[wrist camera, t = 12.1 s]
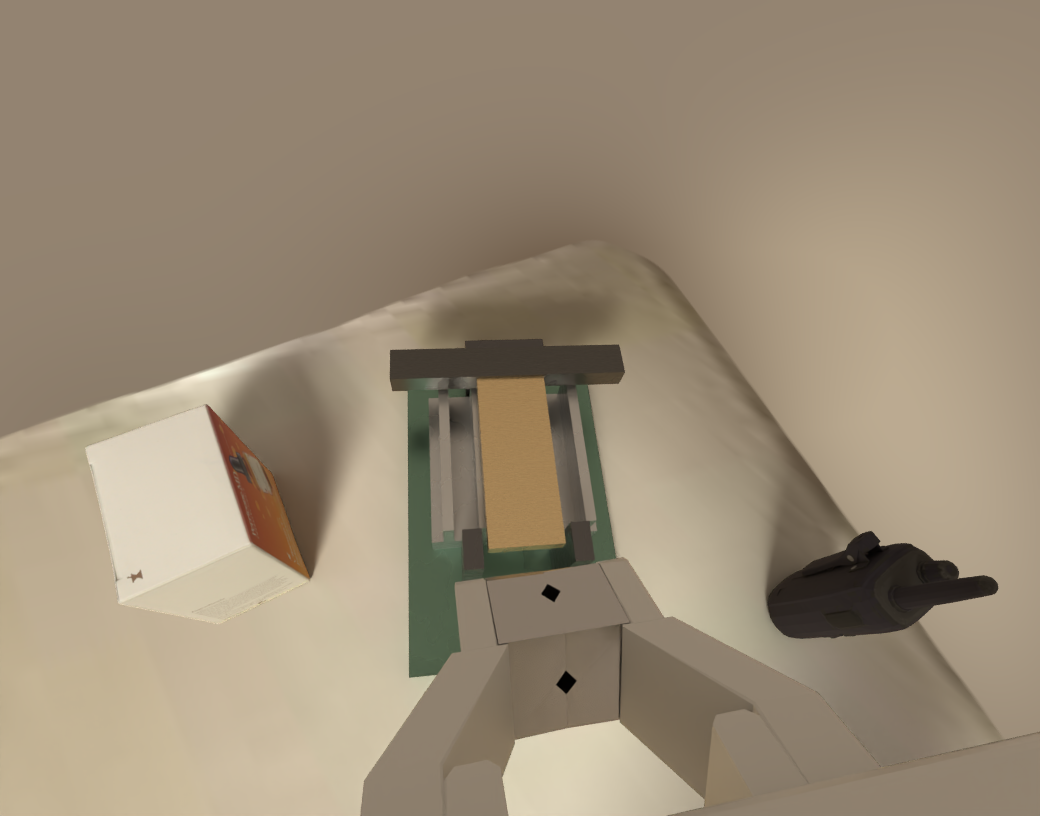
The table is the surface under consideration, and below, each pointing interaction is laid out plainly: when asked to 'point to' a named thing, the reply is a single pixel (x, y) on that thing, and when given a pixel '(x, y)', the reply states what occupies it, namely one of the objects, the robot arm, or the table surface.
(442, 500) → the board
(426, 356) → the lever
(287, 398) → the table surface
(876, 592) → the two-way radio
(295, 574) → the small box
